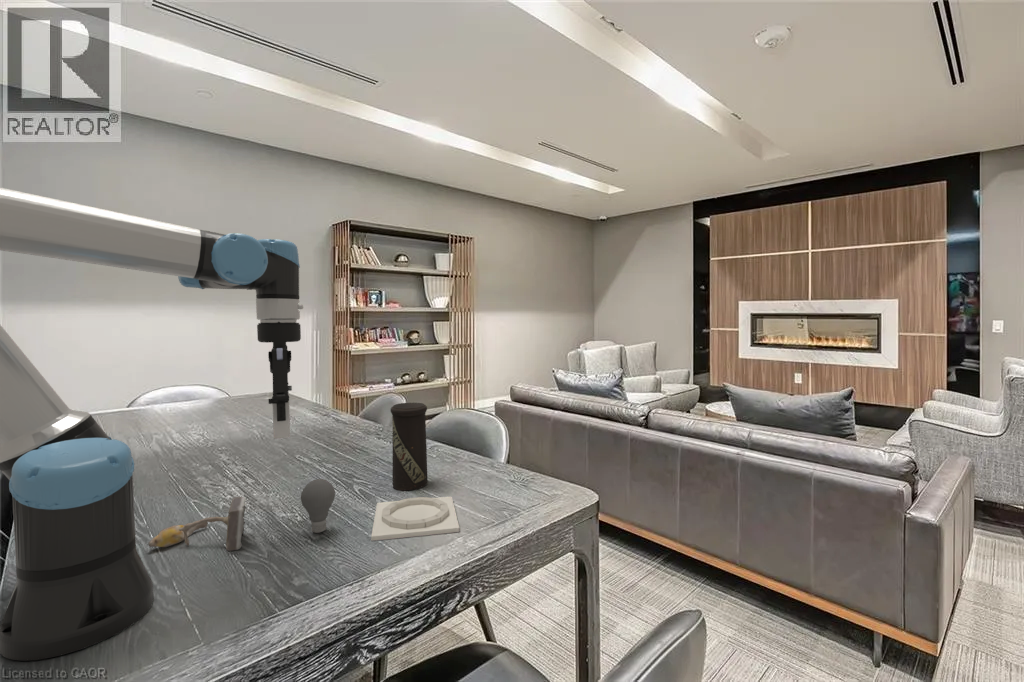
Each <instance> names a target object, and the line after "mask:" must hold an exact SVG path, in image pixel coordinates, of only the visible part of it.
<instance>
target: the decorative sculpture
mask: <svg viewBox="0 0 1024 682" xmlns="http://www.w3.org/2000/svg"><path fill="white" fill-rule="evenodd" d="M246 501H247V499H246V497H244V496H235V497H233V498H232V500H231V503H230V506H229V509H228V515H227V516H212V517H211V516H209V517H205V518H202V519H200V520H195V521H193V522H190V523H189V522H188V523H185V524H176V525H171V526H168V527H166V528H163V529H162V530H160V532H159V533H158V535H156V536H154V537H152V539H150V541H148V546H149V548H152V547H154V548H155V547H157V548H160V547H161V548H167V547H172V546H174V545H176V544H178V543H180V542H184V543H185V545H186V547H188V546H190V541H189V537H190V536H191V535H192V534H193V533H194V532H195V531H197V530H200V529H207V527H208V524H209V523H214V522H223V524H225V525H226V528H227V529H226V542H225V545H226V546H225V549H226V551H228V552H233V551H238V550H240V549H241V548H242V545H243V544H242V542H241V541H242V534H243V535H244V533H245V524H246V522H245V512H246V508H247V507H246V505H247V504H248V503H246Z"/></svg>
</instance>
